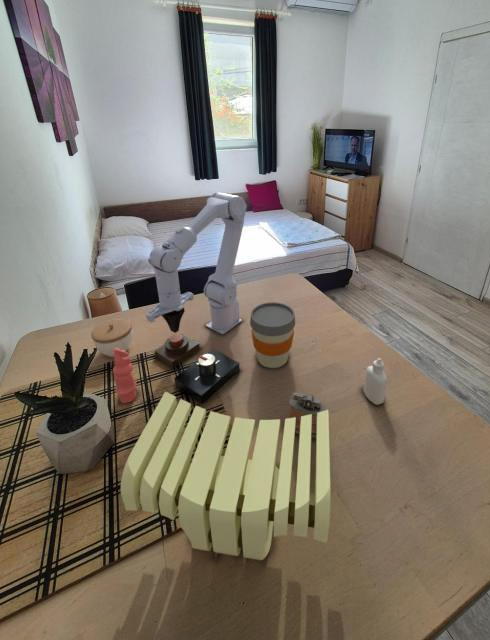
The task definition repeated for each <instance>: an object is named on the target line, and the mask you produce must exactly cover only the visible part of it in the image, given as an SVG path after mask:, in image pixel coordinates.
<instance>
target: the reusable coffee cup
mask: <svg viewBox="0 0 490 640" xmlns="http://www.w3.org/2000/svg"><path fill="white" fill-rule="evenodd" d="M249 325H250V327H251V330H250V332H251V338H252V344H253V348H254V349H255V352H256V358H257V361H258V363H259V364H260V365H261V366H263V367H266V368H268V369H276V368H280V367H283V366H284V365H285V364H286V363H287V362H288V360H289V354H290V351H291V348H292V346H293V340H294V335H295V329H294V328H295V327H296V314H295V310H294V309H293V308H292V307H291V306H289V305H287V304H285V303H282V302H276V301H270V302H264V303H260V304H258V305H256V306H255V307H254V308H253V309H252V310H251V312H250V319H249Z"/></svg>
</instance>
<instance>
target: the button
mask: <svg viewBox="0 0 490 640" xmlns="http://www.w3.org/2000/svg"><path fill="white" fill-rule="evenodd" d="M169 338H170V345H171V346H172V347H177V346H180V345H181V344H182V343H183V339H182V336H181V335H180V334H178V333H177V334H176V333H175V334H172V335H171V336H170V337H169Z"/></svg>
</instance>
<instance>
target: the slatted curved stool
mask: <svg viewBox="0 0 490 640" xmlns="http://www.w3.org/2000/svg"><path fill="white" fill-rule="evenodd" d="M191 411H192V404H191V403H190V402H188V401H186V400H184V399H181V398H180V399H179V402H178V403H177V396H175V395H174V394H172V393H170V392H168V391H164V393H163V395H162V397H161V398H160V400H159V402H158V403H157V406H156V407H155V409H154V411H153V413H152V414H151V416H150V418H149V419H148V421H147V423H146V426H145V427H144V428H143V430H142V431H141V434H140V436H139V437H138V439H137V441H136V443H135V444H134V446H133V447H132V450H131V452H130V454H129V455H128V457H127V460H126V462H125V464H124V468H123V472H122V475H121V479H120V496H121V499H122V501H123V502H122V503H123V505H124V509H125V512H126V511H133V512H134V511H135V512H136V511H137V512H138V510H139V507H140V506H141V510H142V512H147V513H153V514H155V513H156V511H157V509H158V507H159V512H160V515H161V516H163V517H166V518H168V519H170V520H172V521H175V519H176V516H177V513H178V520H179V525H180V528H181V529H182V531H183V532H184V533H185V535H186V536H187V538H188V540H189V542H190V544H191V548H192V549H194V550H201V551H206V552H210V551H211V550H213V552H214V553H217V554H222V555H228V556H235V557H239V556H240V553H241V551H242V557H243V558H246V559H252V560H256V561H257V560H258V561H263V560H264V559H265V558H266V557H267V556H268V554H269V552H270V549H271V545H272V540H273V539H272V538H275V537H281V536H288V528H289V525H293V537H301V538H306V539H307V538H308V529H309V528H313V540H315V541H318V542H322V543H325V544H328V540H329V539H328V538H329V531H330V522H331V455H330V454H331V453H330V452H331V451H330V419H329V416H330V415H329V409H326V410H325V411H322V412H318V413H317V433H316V438H315V439H316V440H315V482H314V483H315V485H314V504H310V491H311V490H310V487H311V451H312V438H311V423H312V414H310V415H305V416H301V424H300V434H299V441H298V455H297V456H298V457H297V470H296V471H297V472H296V489H295V502H294V501H291V488H292V476H293V475H292V474H293V462H294V448H295V447H294V446H295V436H296V435H295V434H296V432H295V423H296V417H295V418H290V417H287V418H285V419H284V427H283V434H282V435H283V436H282V444H281V453H280V460H279V468H278V466H277V465H276V464H277V455H278V446H279V438H280V431H281V419H280V418H279V419H259V423H258V428H257V432H256V433H257V434H256V437H255V443H254V448H253V453H252V458H251V459H249V456H250V451H251V446H252V442H253V441H252V440H253V436H254V431H255V426H256V419H252V418H243V417H235V418H234V421H233V423H232V427H231V431H230V434H229V437H228V442H227V446H226V448H225V453H224V455H222V453H223V450H224V447H225V442H226V439H227V435H228V431H229V428H230V425H231V421H232V420H231V419H232V418H231V416H230V415H227V414H222V413H218V412H216V411H212V410H210V412H209V414H208V416H207V409H206V408H203V407H201V406H198V405H195V407H194V409H193V411H192V413H191ZM190 413H191V415H190ZM189 416H190V418H189ZM206 416H207V420H206V423H205V426H204V428H203V431H202V426H203V424H204V421H205V418H206ZM188 418H189V420H188ZM187 421H188V423H187ZM186 423H187V426H186ZM185 426H186V428H185ZM184 429H185V430H184ZM201 431H202V433H201ZM200 433H201V436H200V439H199V442H198V444H197V441H198V438H199V435H200ZM181 435H182V437H181ZM179 440H180V441H179ZM196 444H197V447H196ZM195 447H196V450H195ZM194 450H195V452H194ZM193 453H194V455H193ZM192 457H193V458H192Z"/></svg>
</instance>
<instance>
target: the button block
mask: <svg viewBox="0 0 490 640" xmlns="http://www.w3.org/2000/svg"><path fill="white" fill-rule="evenodd" d="M179 335H181V336H182V339H183V343H182V344H181V345H180V346H177V347H172V346H171V345H170V337H168V338H167V339H166V340H165V342H164V344H163V345H161V346H160V347H158V348H157V349H155V350H154V357H155V358H157V359H158V360H160V361H161V362H163V363H165V364H166V365H167V366H169V367H170V368H172V369H174V368H175V367H177V366H178V365H180V364H181V363H182V362H184V361H185V360H187V359H188V358H189V357H190V356H192V355H193V354H195V353H196V352H197V351H199V350H200V343H199V342H198V341H196V340H194V339H193V338H190V336H189V337H188V336H187V335H185V334H184V333H180V334H179Z"/></svg>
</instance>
